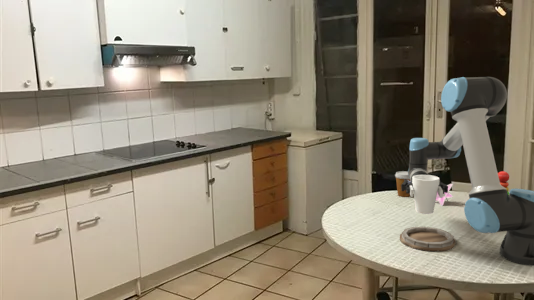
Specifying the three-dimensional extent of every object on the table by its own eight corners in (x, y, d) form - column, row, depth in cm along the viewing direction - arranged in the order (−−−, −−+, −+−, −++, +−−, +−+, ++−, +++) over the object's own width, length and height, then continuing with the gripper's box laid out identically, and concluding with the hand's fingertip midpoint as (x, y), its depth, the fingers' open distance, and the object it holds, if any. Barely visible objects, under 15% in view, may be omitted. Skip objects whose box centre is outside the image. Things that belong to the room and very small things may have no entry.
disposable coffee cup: (416, 194, 228) (417, 172, 226) (408, 198, 221) (409, 175, 219) (399, 192, 234) (400, 170, 232) (391, 195, 227) (391, 173, 225)
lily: (429, 200, 221) (424, 186, 217) (451, 191, 219) (447, 177, 215) (438, 214, 210) (434, 199, 206) (462, 205, 208) (458, 190, 204)
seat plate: (467, 244, 161) (468, 238, 160) (429, 255, 152) (429, 249, 151) (425, 228, 178) (425, 222, 178) (388, 237, 169) (388, 231, 169)
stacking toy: (512, 215, 192) (515, 173, 189) (493, 214, 194) (495, 173, 191) (506, 209, 200) (509, 169, 197) (488, 209, 202) (490, 169, 198)
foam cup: (435, 216, 157) (436, 181, 155) (408, 213, 161) (409, 179, 159) (439, 209, 165) (441, 176, 163) (414, 206, 169) (415, 173, 167)
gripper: (448, 189, 177) (459, 205, 155) (392, 187, 182) (394, 202, 161) (449, 171, 176) (460, 184, 154) (392, 169, 181) (395, 182, 159)
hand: (426, 193), depth 157 cm, fingers closed on foam cup, 9 cm apart
